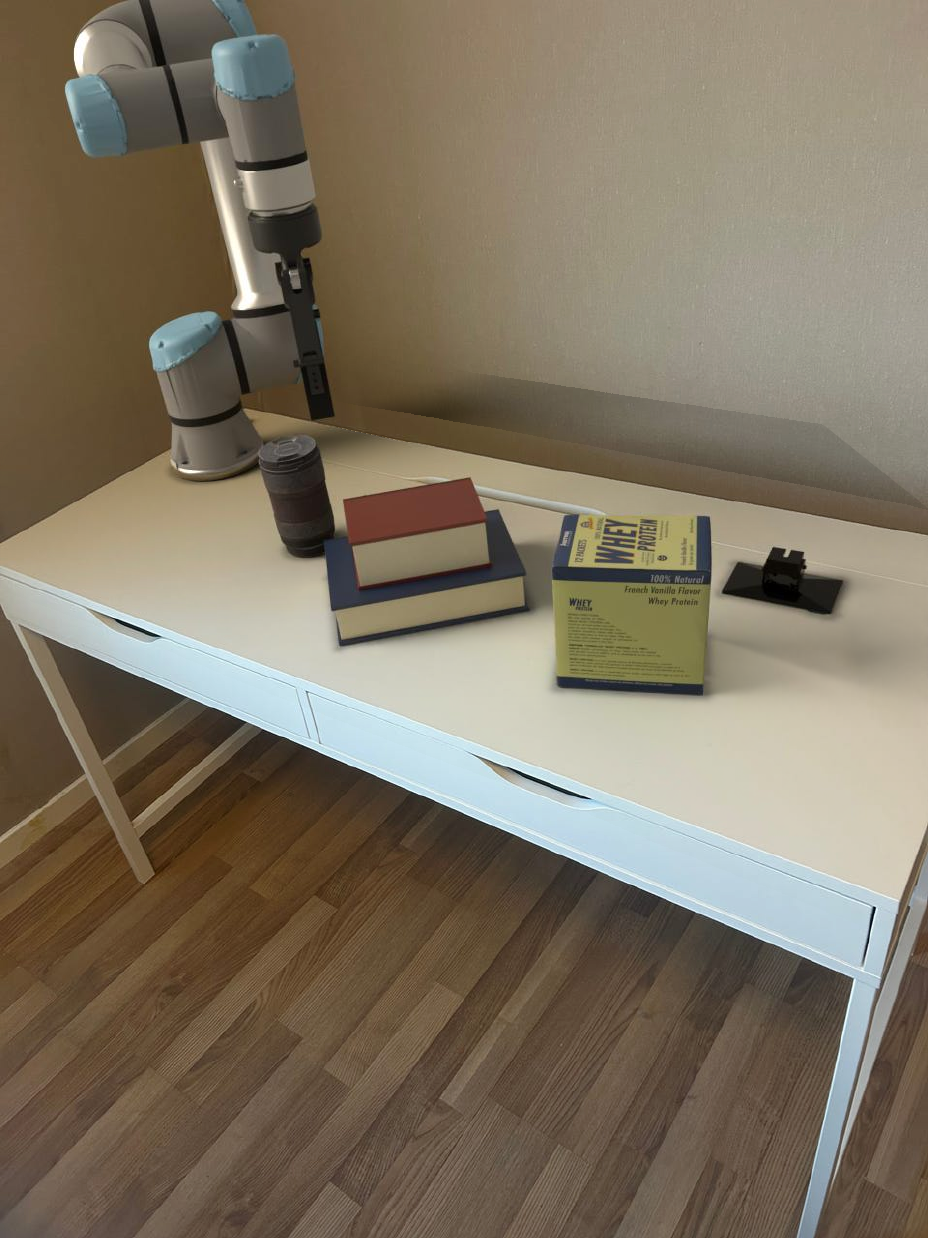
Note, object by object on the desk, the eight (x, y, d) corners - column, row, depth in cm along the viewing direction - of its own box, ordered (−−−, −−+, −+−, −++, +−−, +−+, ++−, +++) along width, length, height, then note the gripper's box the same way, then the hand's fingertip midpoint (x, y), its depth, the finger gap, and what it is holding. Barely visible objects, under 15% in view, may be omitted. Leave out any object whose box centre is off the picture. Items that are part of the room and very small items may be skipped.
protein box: (705, 696, 96) (713, 569, 87) (555, 688, 99) (547, 566, 90) (705, 635, 104) (712, 513, 95) (566, 630, 108) (560, 512, 99)
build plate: (843, 583, 110) (848, 549, 107) (830, 617, 105) (835, 582, 102) (737, 563, 115) (740, 531, 112) (720, 595, 110) (723, 561, 107)
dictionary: (351, 544, 118) (342, 499, 114) (475, 522, 119) (470, 476, 115) (358, 590, 109) (349, 543, 105) (492, 566, 110) (487, 518, 107)
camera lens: (276, 540, 132) (251, 443, 124) (331, 525, 134) (310, 428, 125) (288, 567, 126) (262, 466, 117) (345, 550, 128) (324, 450, 119)
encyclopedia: (331, 575, 123) (323, 539, 120) (501, 544, 125) (498, 508, 121) (339, 646, 110) (330, 608, 107) (529, 610, 112) (526, 572, 108)
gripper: (245, 188, 109) (284, 363, 121) (246, 240, 89) (292, 443, 101) (309, 179, 109) (341, 353, 122) (324, 229, 89) (360, 431, 102)
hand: (319, 395), depth 112 cm, fingers open, 13 cm apart
